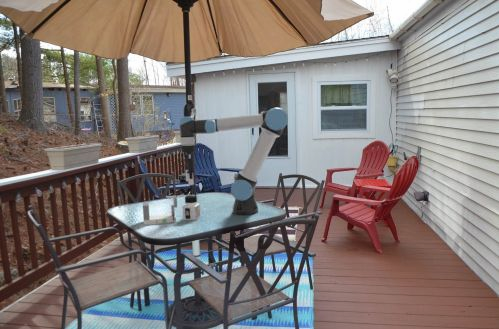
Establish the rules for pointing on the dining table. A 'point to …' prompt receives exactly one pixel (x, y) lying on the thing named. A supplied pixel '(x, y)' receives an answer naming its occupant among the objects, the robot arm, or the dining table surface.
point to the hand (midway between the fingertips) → (189, 183)
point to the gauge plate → (173, 206)
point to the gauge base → (155, 216)
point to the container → (191, 208)
